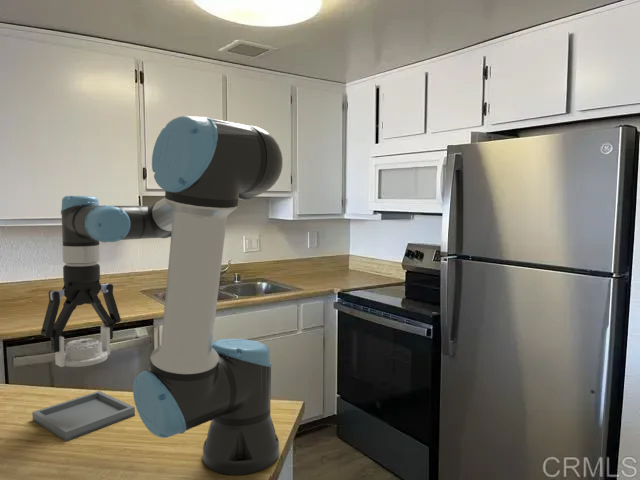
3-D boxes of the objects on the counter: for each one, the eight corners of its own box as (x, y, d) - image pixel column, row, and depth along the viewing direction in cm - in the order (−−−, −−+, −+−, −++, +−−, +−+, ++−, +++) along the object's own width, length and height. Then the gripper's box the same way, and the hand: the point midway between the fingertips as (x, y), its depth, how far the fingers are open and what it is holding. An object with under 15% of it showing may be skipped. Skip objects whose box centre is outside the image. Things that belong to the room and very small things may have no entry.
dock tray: (134, 415, 115) (134, 407, 115) (66, 441, 102) (65, 432, 102) (99, 398, 125) (99, 390, 124) (32, 420, 112) (32, 411, 112)
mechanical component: (49, 366, 108) (89, 370, 106) (48, 346, 108) (88, 350, 106) (79, 352, 118) (116, 355, 116) (79, 334, 117) (116, 337, 115)
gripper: (118, 258, 121) (120, 344, 123) (20, 267, 103) (23, 368, 105) (135, 260, 117) (137, 350, 119) (36, 270, 99) (39, 376, 101)
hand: (83, 359), depth 112 cm, fingers closed on mechanical component, 10 cm apart
